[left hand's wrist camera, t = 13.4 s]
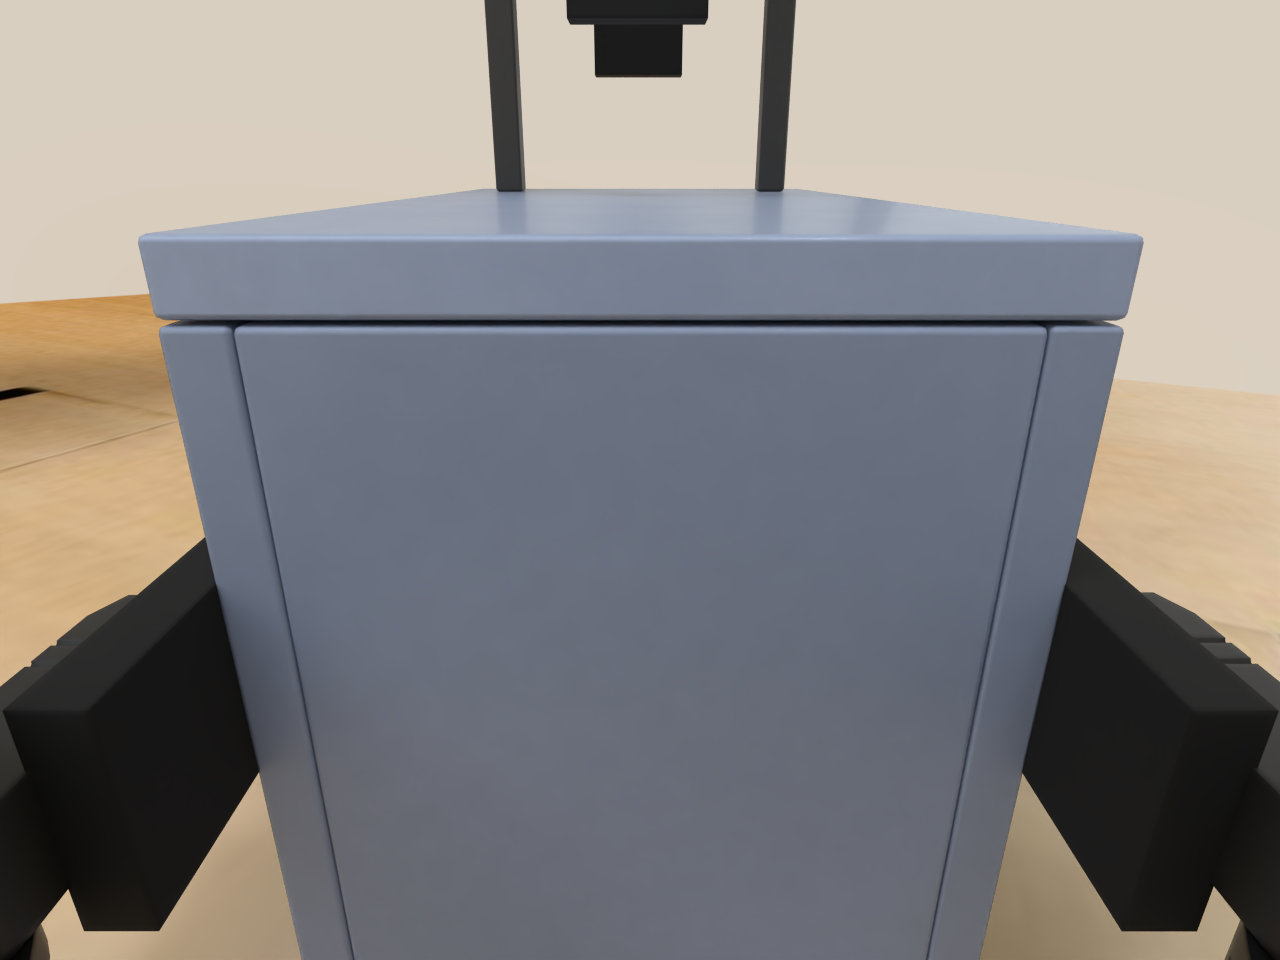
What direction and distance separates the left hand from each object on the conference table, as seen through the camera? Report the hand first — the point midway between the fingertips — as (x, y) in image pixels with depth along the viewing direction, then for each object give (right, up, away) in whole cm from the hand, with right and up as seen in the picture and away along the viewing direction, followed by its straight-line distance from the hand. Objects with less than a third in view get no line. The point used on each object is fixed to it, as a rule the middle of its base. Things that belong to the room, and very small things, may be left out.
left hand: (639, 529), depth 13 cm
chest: (0, -5, +7) cm, 8 cm away
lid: (0, +6, +3) cm, 6 cm away
